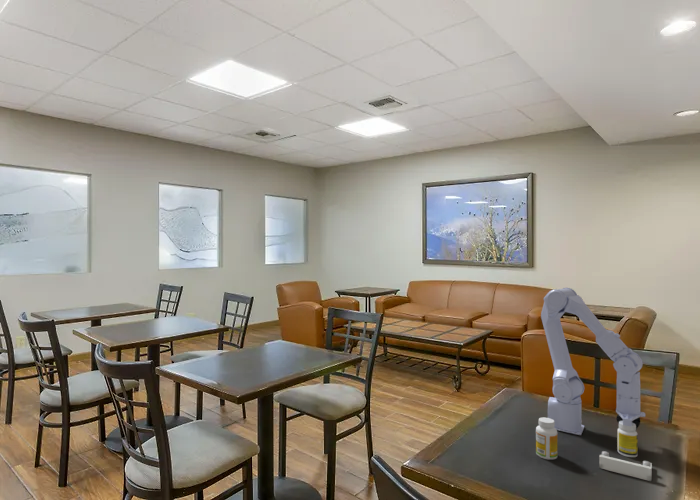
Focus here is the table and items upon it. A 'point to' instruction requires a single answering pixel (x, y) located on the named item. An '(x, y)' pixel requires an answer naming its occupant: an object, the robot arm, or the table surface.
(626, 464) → the drawer handle
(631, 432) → the supplement bottle
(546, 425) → the supplement bottle
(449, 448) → the table surface
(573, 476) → the table surface
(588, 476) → the table surface
